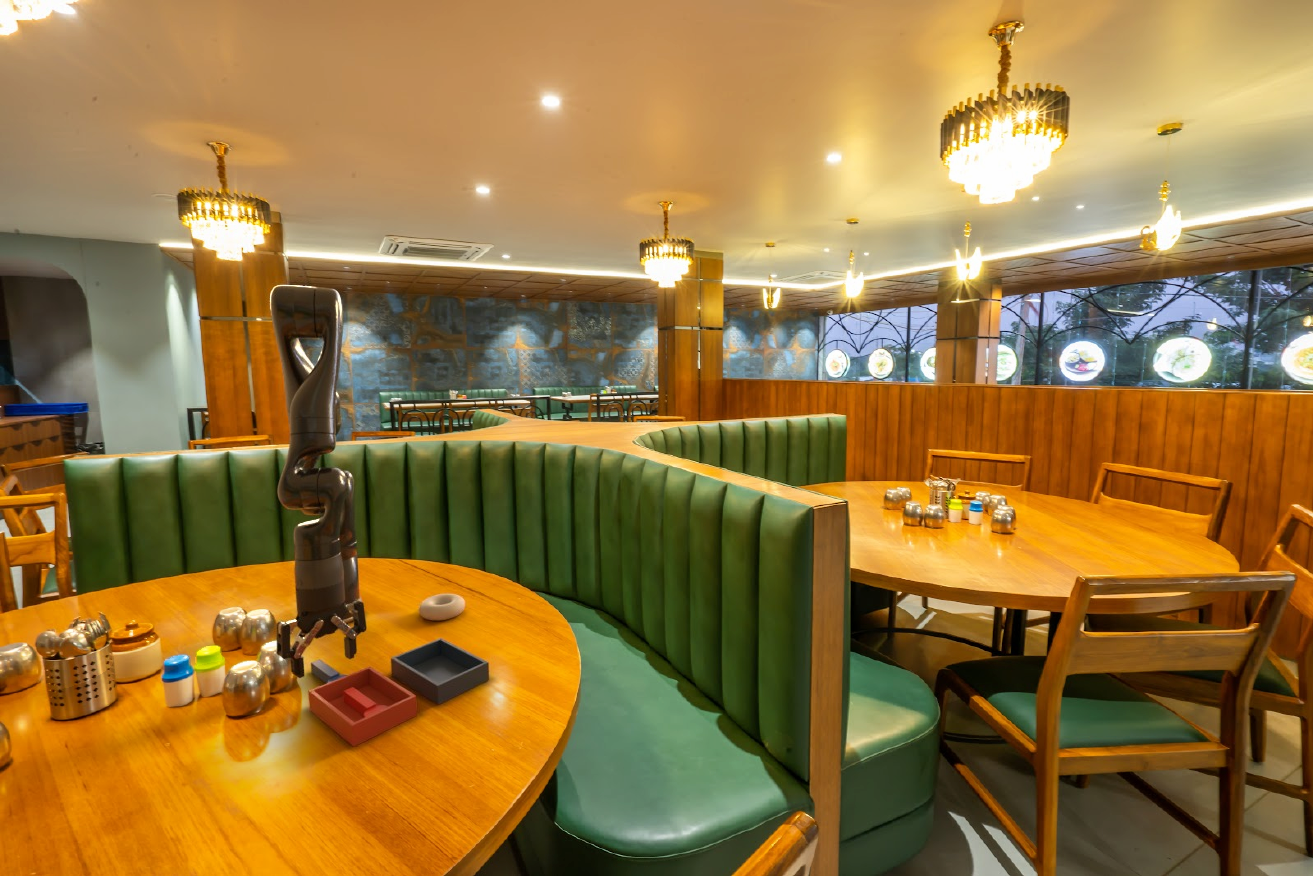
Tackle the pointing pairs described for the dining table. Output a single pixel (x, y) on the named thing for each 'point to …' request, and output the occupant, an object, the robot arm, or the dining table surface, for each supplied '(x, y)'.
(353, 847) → the dining table surface
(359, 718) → the red tray
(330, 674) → the blue spoon
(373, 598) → the dining table surface
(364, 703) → the red spoon
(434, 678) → the blue tray
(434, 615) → the donut
